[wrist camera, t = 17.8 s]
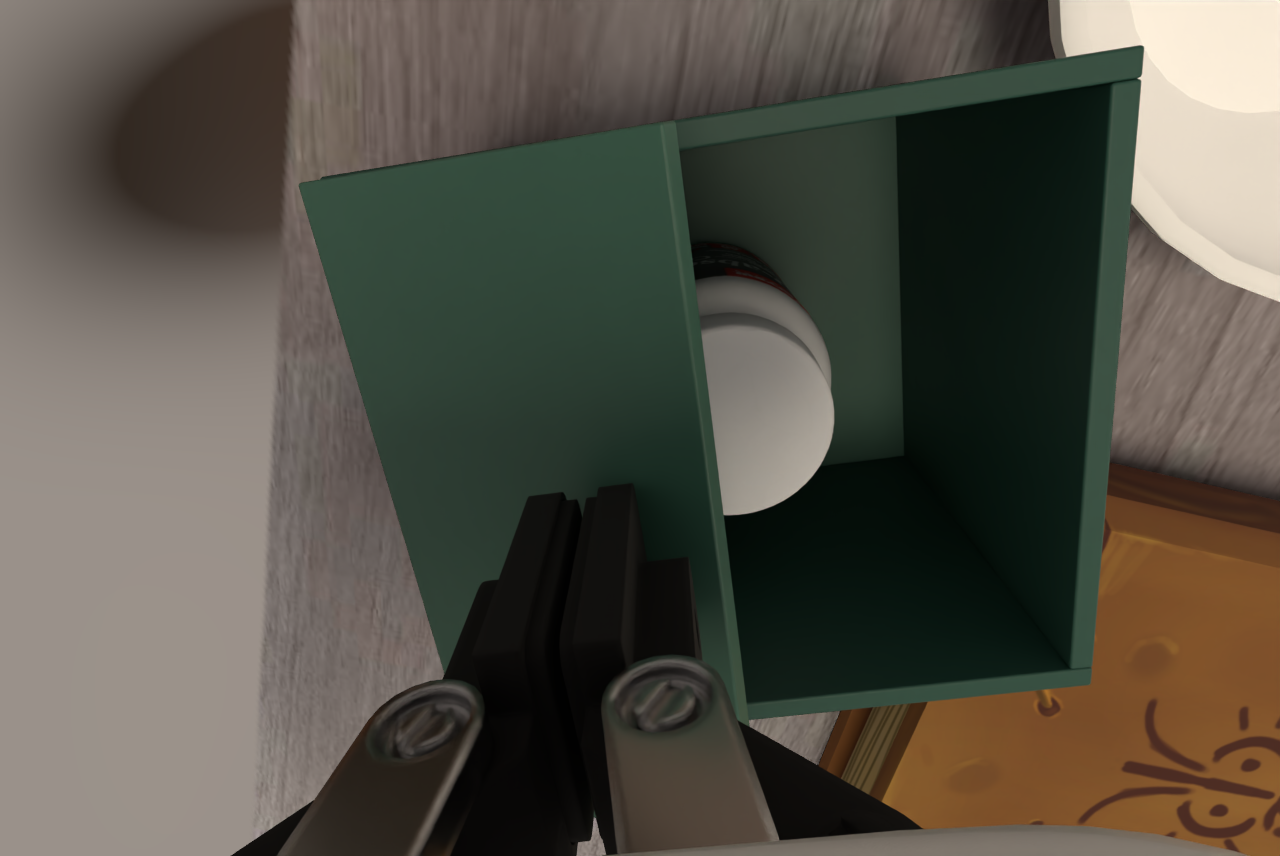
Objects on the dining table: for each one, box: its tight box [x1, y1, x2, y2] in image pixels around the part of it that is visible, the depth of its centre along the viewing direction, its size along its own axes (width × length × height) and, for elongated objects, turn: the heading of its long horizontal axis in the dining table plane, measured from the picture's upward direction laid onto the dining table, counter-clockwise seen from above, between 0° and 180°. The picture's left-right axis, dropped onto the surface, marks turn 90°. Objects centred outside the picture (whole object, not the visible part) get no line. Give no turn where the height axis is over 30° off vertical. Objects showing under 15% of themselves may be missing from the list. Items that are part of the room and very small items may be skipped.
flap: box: [299, 121, 749, 818], centre depth 13 cm, size 7×13×1 cm, turn 8°
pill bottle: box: [691, 243, 834, 515], centre depth 22 cm, size 6×6×10 cm
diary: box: [818, 462, 1280, 856], centre depth 29 cm, size 23×19×6 cm
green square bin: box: [320, 45, 1144, 720], centre depth 21 cm, size 14×13×12 cm
